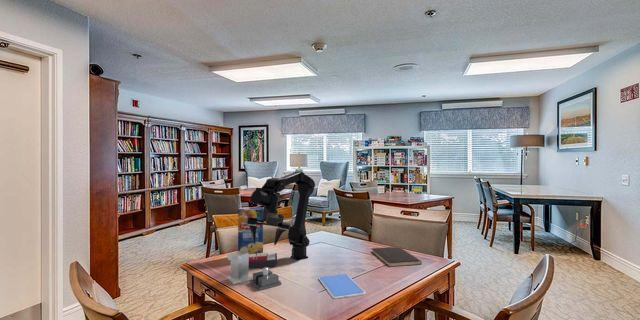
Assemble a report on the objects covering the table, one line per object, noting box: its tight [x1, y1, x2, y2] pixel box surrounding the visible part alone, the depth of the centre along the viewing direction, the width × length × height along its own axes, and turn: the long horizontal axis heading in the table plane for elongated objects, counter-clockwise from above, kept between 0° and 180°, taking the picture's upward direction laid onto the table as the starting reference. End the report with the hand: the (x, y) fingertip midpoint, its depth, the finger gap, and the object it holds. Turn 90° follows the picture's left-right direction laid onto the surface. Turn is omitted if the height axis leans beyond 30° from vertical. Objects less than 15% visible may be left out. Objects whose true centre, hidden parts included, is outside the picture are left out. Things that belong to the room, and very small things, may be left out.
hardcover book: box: [370, 246, 422, 267], centre depth 153 cm, size 16×23×2 cm
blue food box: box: [237, 206, 264, 255], centre depth 155 cm, size 12×8×24 cm, turn 100°
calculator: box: [249, 252, 278, 269], centre depth 144 cm, size 11×4×15 cm
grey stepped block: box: [227, 250, 250, 281], centre depth 125 cm, size 7×5×10 cm
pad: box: [226, 275, 253, 285], centre depth 126 cm, size 8×8×1 cm
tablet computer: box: [318, 273, 366, 300], centre depth 118 cm, size 19×13×1 cm, turn 17°
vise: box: [249, 267, 282, 291], centre depth 121 cm, size 9×9×6 cm
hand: (264, 243), depth 132 cm, fingers open, 9 cm apart
